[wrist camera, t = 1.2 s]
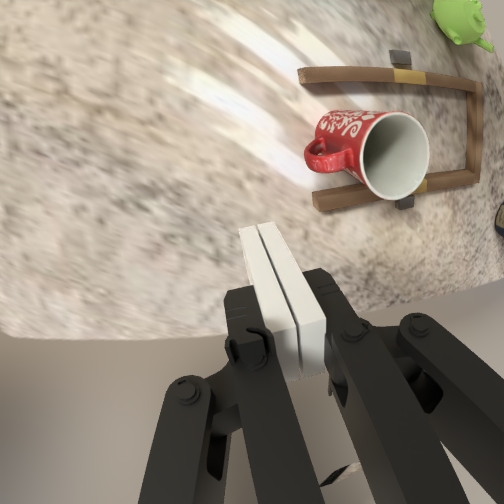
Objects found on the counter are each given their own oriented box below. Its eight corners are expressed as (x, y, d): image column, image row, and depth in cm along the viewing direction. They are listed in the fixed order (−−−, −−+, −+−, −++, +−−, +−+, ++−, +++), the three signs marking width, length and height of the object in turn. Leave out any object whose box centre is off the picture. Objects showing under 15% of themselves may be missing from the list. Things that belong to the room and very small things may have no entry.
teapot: (458, -1, 24) (491, -4, 17) (469, 54, 30) (504, 57, 23) (414, -16, 23) (449, -26, 16) (428, 44, 29) (466, 43, 22)
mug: (364, 100, 34) (430, 111, 22) (369, 161, 38) (429, 193, 27) (276, 110, 33) (317, 118, 21) (287, 176, 38) (327, 216, 26)
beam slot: (293, 47, 29) (300, 44, 27) (470, 65, 31) (480, 66, 29) (314, 224, 42) (320, 231, 40) (468, 192, 44) (477, 197, 42)
